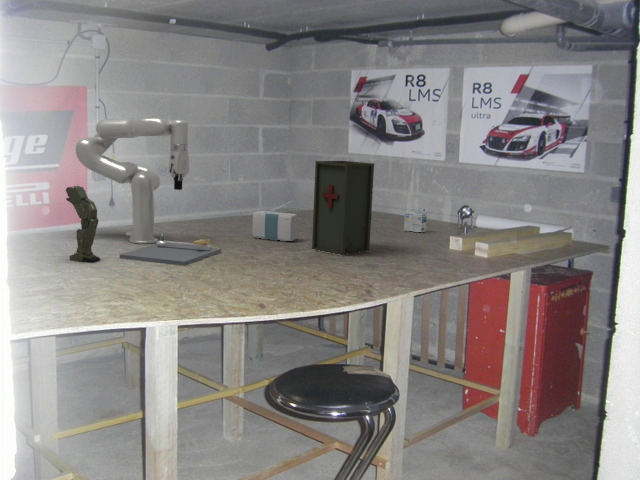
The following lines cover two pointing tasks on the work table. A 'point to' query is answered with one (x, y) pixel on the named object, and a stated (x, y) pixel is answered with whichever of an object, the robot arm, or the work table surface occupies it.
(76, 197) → the mechanical leg
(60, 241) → the work table surface
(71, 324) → the work table surface
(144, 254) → the base plate
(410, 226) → the light bulb box
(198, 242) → the strip
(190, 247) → the link
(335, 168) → the first aid box
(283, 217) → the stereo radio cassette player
